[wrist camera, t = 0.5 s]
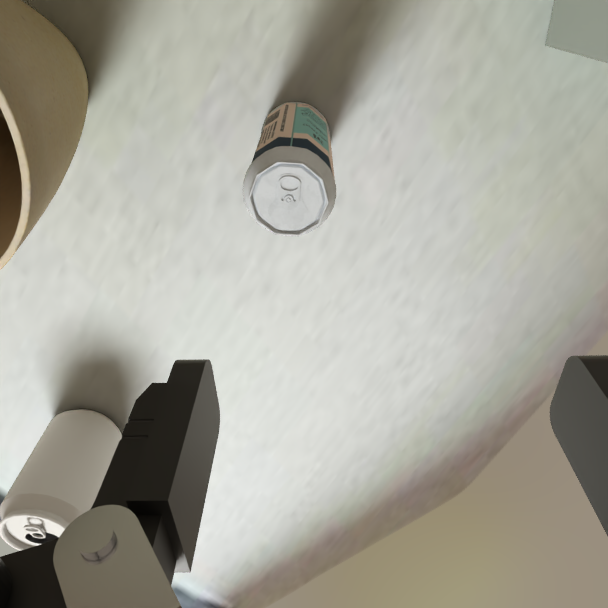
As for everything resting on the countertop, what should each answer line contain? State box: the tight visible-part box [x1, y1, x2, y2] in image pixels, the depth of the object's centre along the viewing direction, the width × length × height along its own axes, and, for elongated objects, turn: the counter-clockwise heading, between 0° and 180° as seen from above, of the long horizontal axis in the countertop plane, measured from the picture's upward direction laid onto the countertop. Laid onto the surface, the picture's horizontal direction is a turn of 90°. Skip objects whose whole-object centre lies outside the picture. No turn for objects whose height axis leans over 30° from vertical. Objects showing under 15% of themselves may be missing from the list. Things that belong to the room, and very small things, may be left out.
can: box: [0, 409, 122, 551], centre depth 46 cm, size 8×8×12 cm
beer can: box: [243, 102, 336, 236], centre depth 29 cm, size 5×5×12 cm
